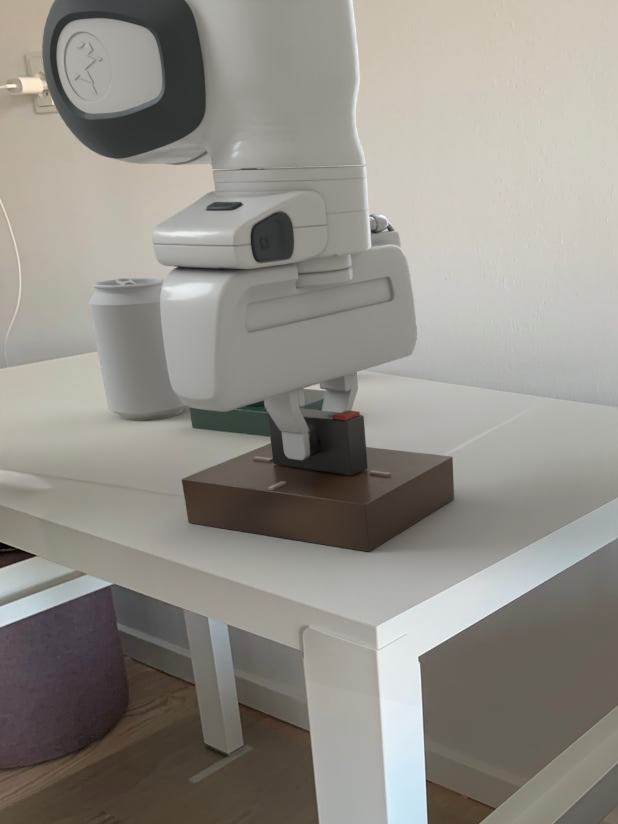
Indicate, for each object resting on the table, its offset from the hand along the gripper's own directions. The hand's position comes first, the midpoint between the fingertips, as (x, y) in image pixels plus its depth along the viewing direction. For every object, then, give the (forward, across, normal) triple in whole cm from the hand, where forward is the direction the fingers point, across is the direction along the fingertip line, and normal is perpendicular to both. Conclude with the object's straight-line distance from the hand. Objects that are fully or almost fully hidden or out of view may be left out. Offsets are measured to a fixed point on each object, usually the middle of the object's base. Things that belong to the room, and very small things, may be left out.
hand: (317, 451), depth 65 cm
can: (+4, -16, -33) cm, 37 cm away
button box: (+4, -18, -20) cm, 27 cm away
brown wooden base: (+4, 0, 0) cm, 4 cm away
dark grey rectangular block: (+1, 0, 0) cm, 1 cm away
